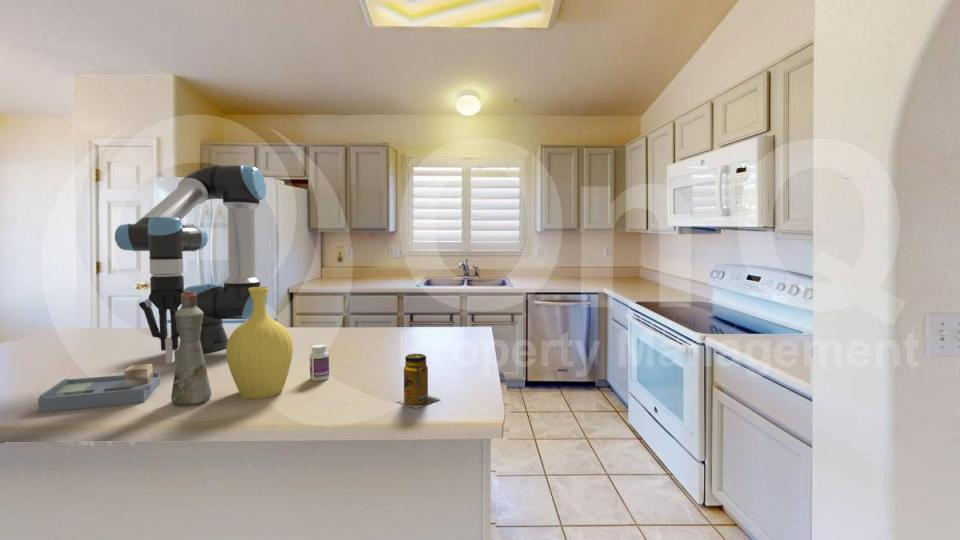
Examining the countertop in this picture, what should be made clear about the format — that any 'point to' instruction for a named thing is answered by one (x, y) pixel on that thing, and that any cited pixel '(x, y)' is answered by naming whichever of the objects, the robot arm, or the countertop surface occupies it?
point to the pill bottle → (319, 363)
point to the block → (138, 374)
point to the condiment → (416, 382)
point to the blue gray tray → (95, 393)
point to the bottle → (190, 356)
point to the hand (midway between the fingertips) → (170, 361)
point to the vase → (259, 352)
